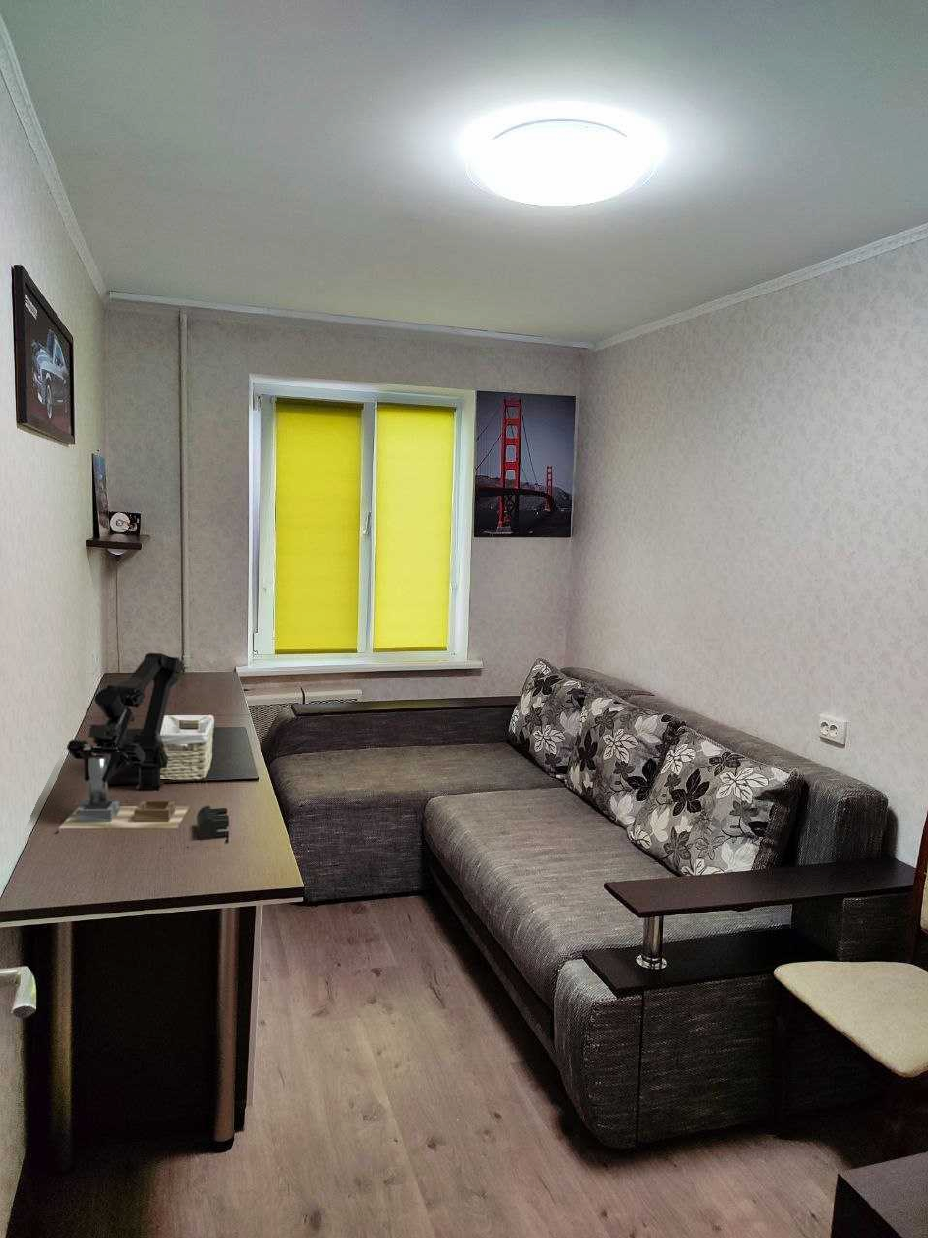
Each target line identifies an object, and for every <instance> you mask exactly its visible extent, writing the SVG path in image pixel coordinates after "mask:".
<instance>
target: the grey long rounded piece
mask: <svg viewBox="0 0 928 1238" xmlns="http://www.w3.org/2000/svg"><path fill="white" fill-rule="evenodd" d="M107 768H108V755H106V754H96V755H93V756H90V757H88V775H89V780H88V800H89V801H90V802H103V801H106V800H109V797H108V796H109V794H108V793H109V791H108V789H109V787H108V786H109V785H108V784H109V783H108V781H107V782H104V781H103V779H104V775H105V773H106V770H107Z"/></svg>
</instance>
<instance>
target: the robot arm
mask: <svg viewBox="0 0 928 1238" xmlns="http://www.w3.org/2000/svg"><path fill="white" fill-rule="evenodd" d="M183 666H184V665H183V662H182V661H181V660H180V658H179V657H177V656H169V655H166V654H165V653H161V652H148V653H145V656H144V659H143V660H142V662H141V663H140V665H139V666H138V667H137V669H136V670H135V671H134V672H133V674H132V675H131V676H130V677H129V678H127V679H125V680H122V681H120V682H119V683H118V684H117V685H115V684H107V685H106V687H105V688H104V689H101V690H100V691H99V692H97V693H96V694H95V696H94V703H95V704H96V705H97V708H98V709H99V710H100V711H101V713H102V715H103V716H104V717H106V721H105V723H104V724H90V725H89V731H88V735H87V737H88V738H91V739H93V740H92V742H93V743H94V744H96V745H92V744H89V743H88V741H86V739H72V740H70V741H69V742H68V744H67V746H66V749H67V750H68V752H69V753H70V755H72V757H73V758H74V759H76V760H84V780H85V781H86V782H89V775H88V757H90V756H93V755H106V756H108V755H109V756H110V761H109V764H108V765H107V770H106V773H105V775H104V779H103V781H104V782H108V781H109V780H110V779H111V778H113V777H114V776H115V775H116V774H117V773H118V772H119V771H120V770H122V769H123V768H125V766H129V765H130V763H131V767H132V768H138V785H137V786H136V787H135V790H136V791H160V789H161V788H162V787H163V785H164V784H165V782H164V781H161V780H160V769H161V768H165V767H167V762H168V757H167V755H166V754H165V752H164V750H163V742H162V739H161V737H160V732H161V728H162V723H163V719H164V716H165V715H166V710H167V709H166V708H167V705H168V701H169V697H170V692H171V688H172V687H173V686H174V685H175V684H176V683H177V682H178V681H179V679H180V675H181V673H182V671H183V669H184V667H183ZM152 681H153V686H152V691H151V695H150V698H149V701H148V707H147V711H146V715H145V720H144V724H143V727H142V731H141V732H140V733H139V734H138V733H137V734H135V735H134V737H133V740H132V743H131V742H126V743H124V741H127V739H128V736H127V732H128V729H129V727H130V725H131V722H135V716H134V713H133V711H132V710H131V709H130V708H139V707H141V705H142V704H143V702H144V700H145V698H146V695H145V694H146V693H145V690H146V688H147V687H148V686H149V684H150V683H151V682H152ZM122 745H123V746H122Z"/></svg>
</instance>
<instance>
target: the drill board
mask: <svg viewBox="0 0 928 1238" xmlns="http://www.w3.org/2000/svg"><path fill="white" fill-rule="evenodd" d="M189 809H190V806H189V805H188V806H187V805H185V806H179V805H176V799H142V800H141V802H140V803H139V804H138V806H136V805H135V806H132V805H131V806H129V805H128V806H127V805H125V806H124V805H123V806H120V799H107V800H106V801H103V802H90V801H89V799H86V800H84V802H82V803H81V805H80V806H78V807H77V808H76V809H75V810H74V811H73V813H71V814H70V816H69V817H68V818H67V819H65V821H64V822H63V823H62V824H61V825H60V826H59V827H58V833H60V832H61V831H62V830H63V829H142V828H143V829H177V828H178V827H179V826H180V824H181V822H182V820H183V818H185V817H184V816H185V815H186V814H187V812H188V811H189Z"/></svg>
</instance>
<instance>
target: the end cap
mask: <svg viewBox="0 0 928 1238" xmlns="http://www.w3.org/2000/svg"><path fill="white" fill-rule="evenodd" d="M196 822H197V832H198V836H199V838H200V839H201V841H208V840H209V841H210V840H212V839H222V838H223V839H224V838H225V841H224V844H229V842H230V841H229V837H230V833H229V830H227V829H228V827H230V817H229V815H228V808H227V807H222V808H220V807H218V808H211V806H210V805H205V806H203V807H202V808H200V809H199V811H198V812H197V816H196ZM218 830H223V831H218Z"/></svg>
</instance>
